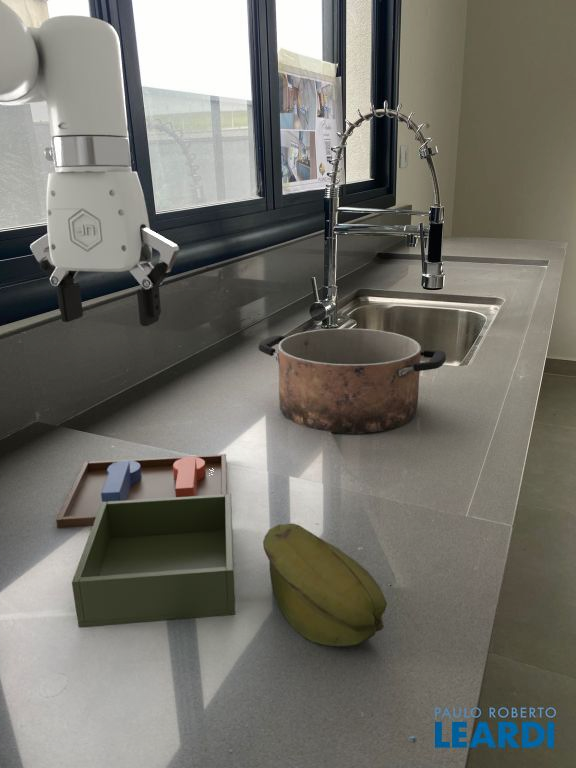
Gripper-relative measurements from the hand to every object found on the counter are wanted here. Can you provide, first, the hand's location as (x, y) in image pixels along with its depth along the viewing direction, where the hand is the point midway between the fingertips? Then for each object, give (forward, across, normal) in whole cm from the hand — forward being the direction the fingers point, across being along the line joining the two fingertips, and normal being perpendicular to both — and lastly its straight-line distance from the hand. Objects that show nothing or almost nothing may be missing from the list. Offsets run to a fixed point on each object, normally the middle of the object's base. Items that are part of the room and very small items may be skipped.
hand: (110, 321), depth 67 cm
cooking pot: (+21, +21, +33) cm, 45 cm away
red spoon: (+20, +8, +1) cm, 22 cm away
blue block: (+20, 0, -2) cm, 21 cm away
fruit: (+21, +28, -16) cm, 38 cm away
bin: (+21, +12, -15) cm, 28 cm away
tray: (+21, +3, -1) cm, 21 cm away
